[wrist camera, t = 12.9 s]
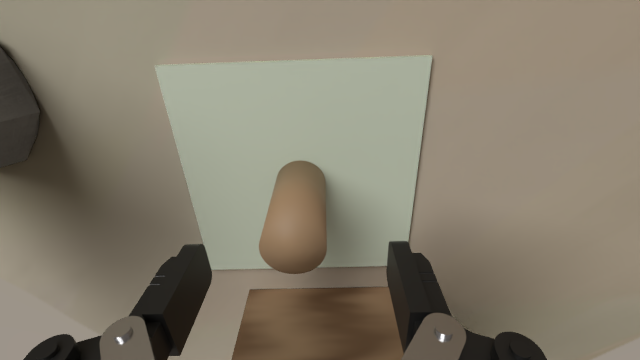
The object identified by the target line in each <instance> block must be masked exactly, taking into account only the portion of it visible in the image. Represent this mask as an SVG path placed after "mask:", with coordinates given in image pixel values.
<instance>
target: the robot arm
mask: <svg viewBox="0 0 640 360" xmlns="http://www.w3.org/2000/svg"><path fill="white" fill-rule="evenodd" d="M211 279H212V271H211V267H210V263H209V260H208V256H207V252H206V249H205V246H204V245H203V244H190V245H184V246H183V247H182V249H181V250H180V252H179V254H178V255H177V257H171V258H170V259H169V260H168V261H166V262H165V263H164V264H163V265H162V266H161V267H160V269H159V270H158V272H157V273H156V275H155V277H154V278H153V280H152V281H151V283H150V286H148V287H147V289H146V290H145V292H144V293H143V295H142V297H141V298H140V300H139V301H138V303H137V304H136V306H135V307H134V309H133V310H132V312H131V314H130V315H129V316H128V317H125V318H122V319H120V320H118V321H116V322H115V323H113V324H112V325H111V326H109V327H108V328H107V329H106V331H105V332H104V333H103V335H101V336H98V337H95V338H91V339H88V340H84V341H81V342H77V343H76V342H75V340H74V339H73V337H72V336H70V335H67V334H62V335H57V336H53V337H51V338H49V339H47V340H45V341H43V342H41V343H40V344H38V345H37V346H36V347H35V348H33V349H32V350H31V351H30V352H29V354H28V355H27V356H26V357H25V358H24V360H167V359H168V356H180V355H181V352H182V350H183V347H184V345H185V343H186V340H187V338H188V336H189V333H190V331H191V329H192V326H193V324H194V322H195V319H196V317H197V315H198V312H199V310H200V308H201V305H202V303H203V300H204V298H205V296H206V293H207V291H208V289H209V286H210V284H211ZM387 281H388V286H389V291H390V295H391V300H392V304H393V309H394V313H395V318H396V322H397V327H398V331H399V336H400V340H401V345H402V349H403V354H404V355H403V357H402V358H401V360H547V359H546V357H545V355H544V353H543V352H542V350H541V349H540V348H539V347H538V346H537V345H536V344H535V343H534V342H533V341H532V340H530V339H529V338H527V337H525V336H523V335H521V334H518V333H515V332H502V333H500V334H499V335H497V337H496V338H495V339H492V338H489V337H485V336H482V335H478V334H475V333H472V332H470V331H468V330H466V329H464V328H463V326H462V325H461V324H460V323H459V322H458V321H457V320H456V319H455V318H453V317H452V316H451V314H450V311H449V309H448V306H447V304H446V301H445V299H444V296H443V294H442V292H441V289H440V287H439V284H438V282H437V279H436V277H435V274H434V272H433V269H432V267H431V264H430V262H429V261H428V260H427V259H426V258H425V257H424V256H423V255H422V254H421V253H412V252H411V249H410V246H409V244H408V242H407V241H389V246H388V258H387Z"/></svg>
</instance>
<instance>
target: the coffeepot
mask: <svg viewBox="0 0 640 360" xmlns="http://www.w3.org/2000/svg"><path fill="white" fill-rule="evenodd" d="M39 114H40V110H39V108H38V105H37V103H36V100H35V98H34V95H33V93H32V91H31V89H30V87H29V85H28V83H27V81H26V79H25V77H24V76H23V74H22V73H21V72H20V70H19V69H18V67H17V66H16V64H15V63H14V62H13V60H12V59H11V58H10V57H9V56H8V55H7V54H6V53H5V52H4V51H3V50H2V48H1V47H0V168H1V167H4V166H7V165H11V164H14V163H17V162H21V161H24V160H27V158H28V156H29V153H30V151H31V148H32V146H33V143H34V141H35V139H36V137H37V134H38V127H39Z"/></svg>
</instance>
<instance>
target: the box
mask: <svg viewBox="0 0 640 360" xmlns="http://www.w3.org/2000/svg"><path fill="white" fill-rule="evenodd" d="M403 355H404V354H403V349H402V345H401V340H400V336H399V331H398V327H397V322H396V318H395V313H394V309H393V304H392V300H391V295H390V291H389V287H364V288H312V289H260V290H250V291H249V295H248V298H247V302H246V306H245V310H244V314H243V318H242V321H241V325H240V329H239V333H238V337H237V341H236V345H235V348H234V352H233V356H232V360H401V358H402V357H403Z"/></svg>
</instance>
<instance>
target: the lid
mask: <svg viewBox="0 0 640 360" xmlns="http://www.w3.org/2000/svg"><path fill="white" fill-rule="evenodd" d="M431 63H432V56H431V55H419V56H391V57H363V58H335V59H307V60H279V61H250V62H222V63H194V64H166V65H157V66H155V70H156V73H157V77H158V80H159V84H160V88H161V91H162V95H163V99H164V102H165V106H166V110H167V113H168V117H169V120H170V124H171V128H172V131H173V135H174V139H175V142H176V146H177V150H178V153H179V157H180V160H181V164H182V168H183V171H184V175H185V179H186V182H187V186H188V190H189V193H190V197H191V201H192V204H193V208H194V211H195V215H196V219H197V222H198V226H199V230H200V233H201V237H202V241H203V244H204V246H205V249H206V252H207V256H208V260H209V263H210V267H211V270H225V269H273V268H274V269H275V270H278V271H280V272H283V273H289V274H300V273H305V272H308V271H311V270H313V269H315V268H320V267H367V266H387V258H388V246H389V241H407V242H408V240H409V232H410V225H411V217H412V209H413V202H414V194H415V186H416V178H417V171H418V163H419V155H420V148H421V140H422V132H423V124H424V117H425V109H426V101H427V94H428V86H429V78H430V71H431Z"/></svg>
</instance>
